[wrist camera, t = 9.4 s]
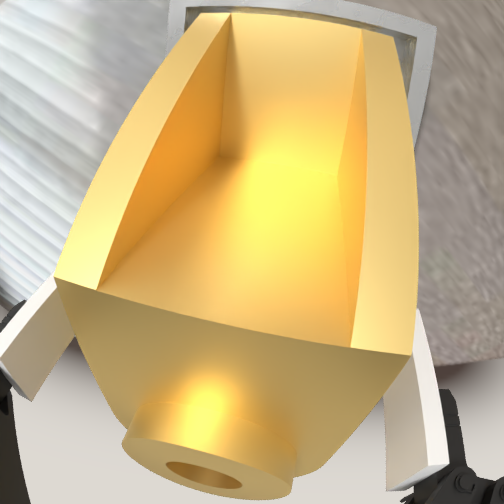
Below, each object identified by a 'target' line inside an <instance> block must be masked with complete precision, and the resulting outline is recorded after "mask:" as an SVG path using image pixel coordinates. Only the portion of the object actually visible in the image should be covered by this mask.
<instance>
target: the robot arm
mask: <svg viewBox="0 0 504 504" xmlns="http://www.w3.org/2000/svg"><path fill="white" fill-rule="evenodd" d="M54 273H55V271H54V272H53V273H52V274H51V275H50V276H49V277H48V279H47V280H46V281H45V282H44V283H43V284H42V285H41V286H40V287H39V288H38V289H37V291H36V292H35V293H34V294H33V295H32V296H31V297H30V298H29V300H28V301H27V300H23V301H21V302H20V303H18V304H17V305H15V306H14V307H13V308H12V310H11V311H10V312H9V313H8V314H7V317H5V318H4V319H3V320H2V323H0V504H31V503H30V499H29V495H28V492H27V487H26V484H25V479H24V474H23V470H22V465H21V460H20V455H19V449H18V443H17V436H16V429H15V421H14V412H13V401H12V394H11V391H10V389H11V387H12V386H13V388H14V389H15V390H16V391H17V392H18V394H19V395H21V396H23V397H24V398H26V399H28V400H29V401H31V402H32V400H33V399H34V397H35V395H36V394H37V392H38V391H39V389H40V387H41V386H42V384H43V383H44V381H45V379H46V378H47V376H48V375H49V373H50V372H51V370H52V369H53V367H54V365H55V364H56V362H57V361H58V359H59V358H60V356H61V355H62V353H63V352H64V350H65V349H66V348H67V346H68V345H69V343H70V342H71V340H72V339H73V337H74V336H75V333H74V331H73V329H72V326H71V324H70V321H69V319H68V316H67V313H66V311H65V308H64V306H63V303H62V300H61V297H60V295H59V292H58V289H57V286H56V283H55V280H54V277H53V276H54ZM383 401H384V416H385V438H386V491H404V490H407V489H409V488H410V487H412V486H414V493H412V494H410V495H408V496H406V497H404V498H403V499H402V500H401V501H400V502H401V503H402V502H404V501H406V502H405V503H404V504H504V477H501V478H500V479H498V480H496V481H493V480H488V479H484V478H479V477H477V476H476V473H475V472H474V471H473V470H472V469H471V468H469V467H468V466H467V464H466V459H465V451H464V444H463V438H462V432H461V426H460V421H459V416H458V410H457V405H456V401H455V399H454V397H453V396H452V394H451V392H450V390H449V389H438V385H437V381H436V376H435V372H434V366H433V362H432V358H431V354H430V349H429V345H428V341H427V338H426V334H425V330H424V326H423V323H422V319H421V315H420V312H419V309H416V319H415V330H414V339H413V348H412V356H411V357H410V359H409V360H408V362H407V363H406V364H405V366H404V367H403V369H402V370H401V372H400V373H399V375H398V376H397V377H396V379H395V380H394V382H393V383H392V384H391V386H390V387H389V388H388V390H387V391H386V392H385V394H384V395H383Z"/></svg>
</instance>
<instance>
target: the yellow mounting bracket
mask: <svg viewBox="0 0 504 504" xmlns="http://www.w3.org/2000/svg"><path fill="white" fill-rule="evenodd" d="M418 266H419V221H418V196H417V180H416V168H415V157H414V147H413V139H412V131H411V124H410V117H409V110H408V104H407V98H406V93H405V87H404V82H403V77H402V72H401V67H400V63H399V58H398V54H397V50H396V46H395V42H394V38H393V37H391V36H388V35H384V34H380V33H376V32H372V31H368V30H364V29H360V28H355V27H351V26H346V25H341V24H335V23H330V22H324V21H318V20H311V19H304V18H296V17H287V16H277V15H265V14H249V13H200V15H199V16H198V17H197V18H196V19H195V21H194V22H193V23H192V24H191V25H190V27H189V28H188V29H187V30H186V32H185V33H184V34H183V36H182V37H181V38H180V39H179V41H178V42H177V43H176V45H175V46H174V47H173V49H172V50H171V51H170V53H169V54H168V55H167V57H166V58H165V60H164V61H163V62H162V64H161V65H160V67H159V68H158V70H157V71H156V72H155V74H154V75H153V77H152V78H151V80H150V81H149V83H148V84H147V86H146V87H145V89H144V90H143V92H142V93H141V95H140V97H139V98H138V100H137V101H136V103H135V105H134V106H133V108H132V109H131V111H130V113H129V114H128V116H127V118H126V119H125V121H124V123H123V125H122V126H121V128H120V130H119V131H118V133H117V135H116V137H115V139H114V140H113V142H112V144H111V146H110V148H109V150H108V151H107V153H106V155H105V157H104V159H103V161H102V163H101V165H100V167H99V169H98V171H97V173H96V175H95V177H94V179H93V181H92V183H91V185H90V187H89V189H88V191H87V193H86V196H85V198H84V200H83V202H82V204H81V207H80V209H79V211H78V213H77V216H76V218H75V221H74V223H73V225H72V228H71V230H70V233H69V235H68V238H67V240H66V243H65V245H64V248H63V251H62V253H61V256H60V259H59V261H58V264H57V267H56V270H55V273H54V276H53V277H54V280H55V283H56V286H57V289H58V292H59V295H60V297H61V300H62V303H63V306H64V308H65V311H66V313H67V316H68V319H69V321H70V324H71V326H72V329H73V331H74V333H75V336H76V338H77V340H78V343H79V345H80V347H81V350H82V351H83V354H84V356H85V358H86V360H87V362H88V365H89V367H90V369H91V371H92V373H93V375H94V377H95V379H96V381H97V383H98V385H99V387H100V389H101V391H102V393H103V395H104V397H105V399H106V400H107V402H108V404H109V406H110V407H111V410H112V411H113V413H114V415H115V416H116V418H117V419H118V420H119V421H120V422H121V423H122V425H123V426H124V427H125V428H126V429H128V430H127V433H126V435H125V437H124V439H123V441H122V447H123V449H124V450H125V452H126V453H127V454H128V455H129V456H130V457H131V458H132V459H134V460H135V461H136V462H138V463H139V464H140V465H142V466H144V467H145V468H147V469H149V470H150V471H152V472H154V473H156V474H158V475H160V476H162V477H164V478H166V479H168V480H171V481H173V482H175V483H178V484H180V485H183V486H186V487H189V488H192V489H195V490H199V491H202V492H206V493H210V494H214V495H218V496H223V497H230V498H237V499H246V500H271V499H278V498H282V497H285V496H287V495H289V494H290V492H291V489H292V482H293V478H294V477H299V476H302V475H306V474H309V473H311V472H314V471H316V470H317V469H319V468H320V467H322V466H323V465H324V464H325V463H326V462H327V461H328V460H329V459H330V458H331V457H332V456H333V454H334V453H335V452H336V451H337V450H338V449H339V448H340V447H341V446H342V445H343V444H344V442H345V441H346V440H347V439H348V438H349V437H350V436H351V434H352V433H353V432H354V431H355V430H356V429H357V427H358V426H359V425H360V424H361V423H362V422H363V420H364V419H365V418H366V417H367V415H368V414H369V413H370V412H371V410H372V409H373V408H374V407H375V405H376V404H377V403H378V402H379V400H380V399H381V398H382V396H383V395H384V394H385V392H386V391H387V390H388V388H389V387H390V386H391V384H392V383H393V382H394V380H395V379H396V377H397V376H398V375H399V373H400V372H401V370H402V369H403V367H404V366H405V364H406V363H407V362H408V360H409V359H410V357H411V356H412V348H413V339H414V330H415V319H416V307H417V291H418Z"/></svg>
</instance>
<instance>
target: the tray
mask: <svg viewBox="0 0 504 504" xmlns="http://www.w3.org/2000/svg"><path fill="white" fill-rule="evenodd" d="M200 13H249V14H265V15H277V16H287V17H296V18H304V19H311V20H318V21H324V22H330V23H335V24H341V25H346V26H351V27H355V28H360V29H364V30H368V31H372V32H376V33H380V34H384V35H388V36H391V37H393V38H394V42H395V46H396V50H397V54H398V58H399V63H400V67H401V72H402V77H403V82H404V87H405V93H406V98H407V104H408V110H409V117H410V124H411V131H412V139H413V147H414V148H415V144H416V140H417V136H418V132H419V127H420V123H421V118H422V114H423V109H424V104H425V99H426V94H427V89H428V84H429V78H430V72H431V66H432V60H433V53H434V46H435V38H436V30H437V27H435V26H433V25H430V24H427V23H424V22H422V21H419V20H416V19H413V18H409V17H406V16H403V15H400V14H396V13H393V12H389V11H386V10H382V9H378V8H374V7H370V6H366V5H362V4H357V3H353V2H348V1H343V0H170V6H169V16H168V28H167V41H166V56H165V58H166V57H167V55H168V54H169V53H170V51H171V50H172V49H173V47H174V46H175V45H176V43H177V42H178V41H179V39H180V38H181V37H182V36H183V34H184V33H185V32H186V30H187V29H188V28H189V27H190V25H191V24H192V23H193V22H194V21H195V19H196V18H197V17H198V16H199V15H200Z"/></svg>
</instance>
